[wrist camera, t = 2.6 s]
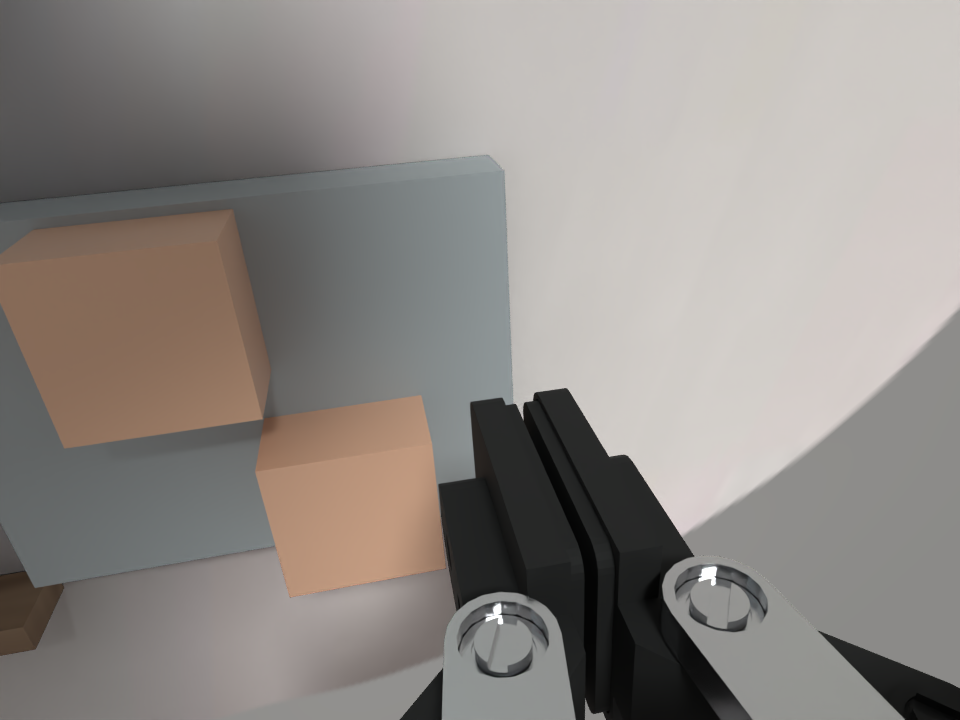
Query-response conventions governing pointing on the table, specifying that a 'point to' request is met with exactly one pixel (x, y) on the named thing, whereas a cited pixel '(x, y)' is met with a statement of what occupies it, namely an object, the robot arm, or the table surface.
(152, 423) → the tile
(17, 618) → the tray
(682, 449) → the table surface
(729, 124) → the table surface
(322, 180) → the board
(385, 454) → the tile
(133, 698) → the table surface
